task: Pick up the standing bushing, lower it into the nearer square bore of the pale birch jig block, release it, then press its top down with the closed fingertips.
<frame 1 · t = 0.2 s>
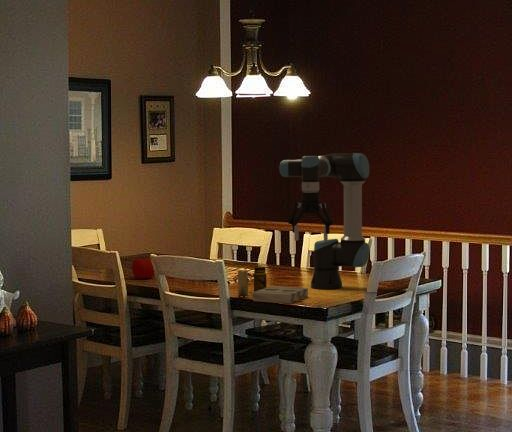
hand: (311, 240, 429), 28 cm above the table, fingers open, 13 cm apart
bushing: (243, 296, 456), on the table
condiment: (258, 292, 468), on the table
tomato: (144, 279, 519), on the table
jig: (280, 298, 448), on the table
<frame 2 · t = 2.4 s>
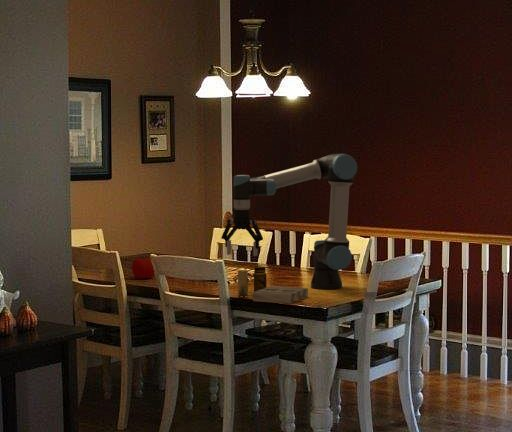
hand: (242, 255, 454), 19 cm above the table, fingers open, 13 cm apart
nothing on the table moved.
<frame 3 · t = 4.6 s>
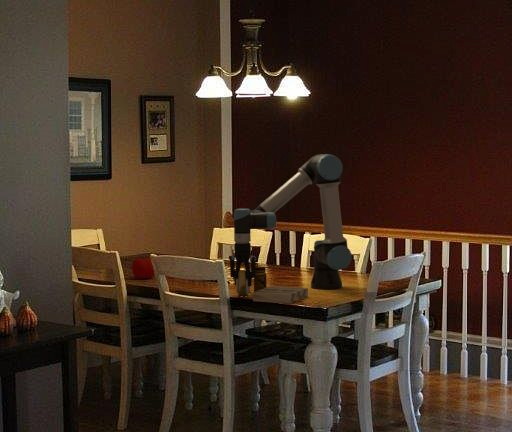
hand: (243, 292, 456), 2 cm above the table, fingers closed on bushing, 4 cm apart
bushing: (243, 296, 456), on the table, touching gripper
everything else where it was.
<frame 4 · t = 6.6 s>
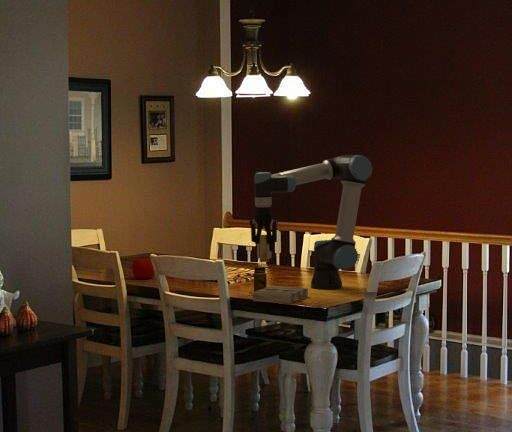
hand: (264, 257, 450), 18 cm above the table, fingers closed on bushing, 4 cm apart
bushing: (264, 261, 450), point 17 cm above the table, touching gripper
everything else where it was.
when the fingers open (5 cm above the table, at t = 8.9 s): bushing drops 2 cm, resting in jig.
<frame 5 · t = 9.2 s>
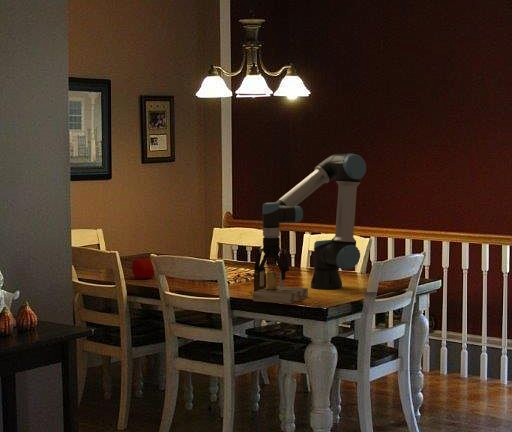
hand: (271, 286, 449), 6 cm above the table, fingers open, 9 cm apart
bushing: (272, 298, 450), resting in jig
everything else where it was.
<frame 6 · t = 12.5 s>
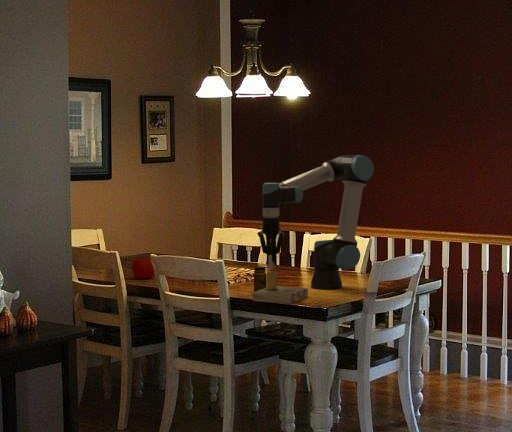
hand: (271, 269, 448), 13 cm above the table, fingers closed
nothing on the table moved.
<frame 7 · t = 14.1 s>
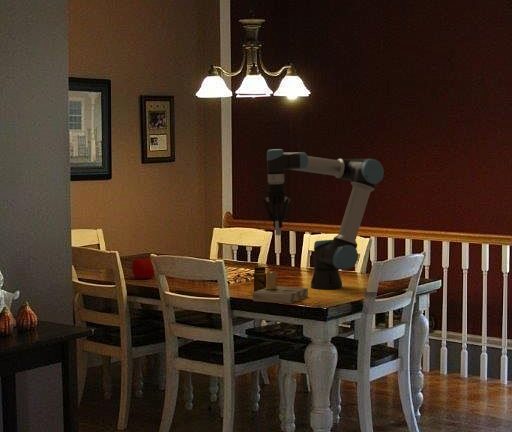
hand: (278, 234, 452), 28 cm above the table, fingers closed
nothing on the table moved.
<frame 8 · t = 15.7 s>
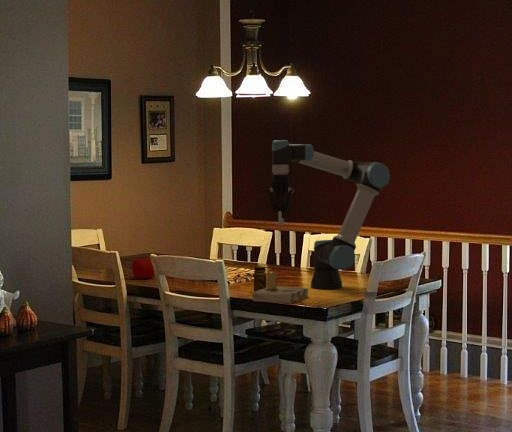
hand: (281, 225, 456), 32 cm above the table, fingers closed
nothing on the table moved.
at the end: bushing 0.1 cm from the target spot on the jig, point 0.0 cm above the jig's base; bushing tilted 0°; the gripper is holding nothing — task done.
